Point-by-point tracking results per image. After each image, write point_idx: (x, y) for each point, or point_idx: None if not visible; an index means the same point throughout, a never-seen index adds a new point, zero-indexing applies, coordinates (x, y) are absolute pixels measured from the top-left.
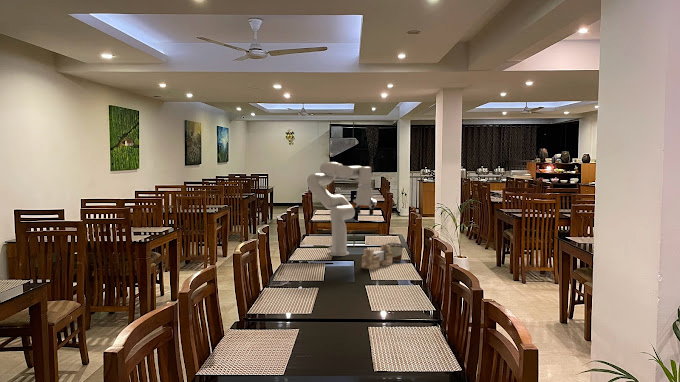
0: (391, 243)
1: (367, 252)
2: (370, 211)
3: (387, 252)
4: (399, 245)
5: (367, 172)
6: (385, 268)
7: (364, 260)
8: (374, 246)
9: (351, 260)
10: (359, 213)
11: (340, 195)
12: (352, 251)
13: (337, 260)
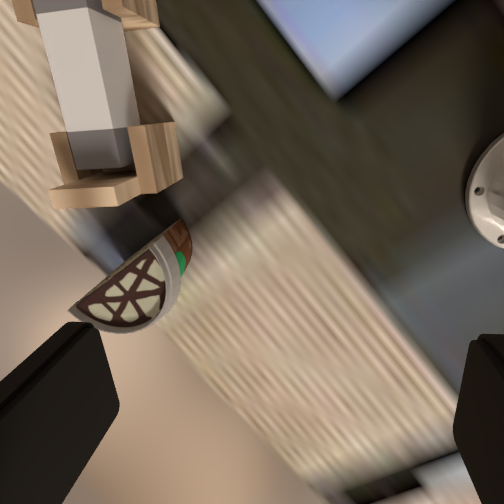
0: (156, 316)
1: None
2: (9, 395)
3: (90, 178)
4: (101, 312)
5: None
6: (46, 56)
7: None
8: (448, 451)
9: (347, 85)
10: (463, 409)
11: None
12: (497, 301)
13: (437, 7)
